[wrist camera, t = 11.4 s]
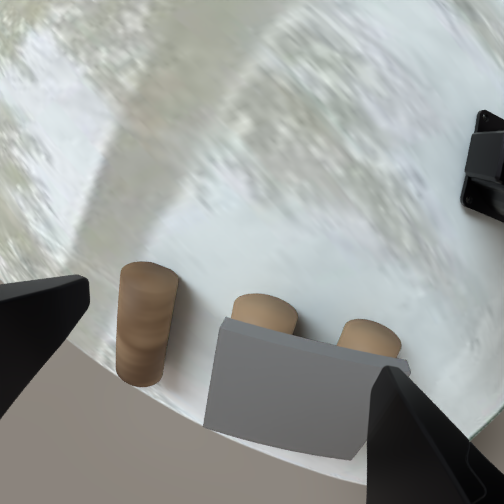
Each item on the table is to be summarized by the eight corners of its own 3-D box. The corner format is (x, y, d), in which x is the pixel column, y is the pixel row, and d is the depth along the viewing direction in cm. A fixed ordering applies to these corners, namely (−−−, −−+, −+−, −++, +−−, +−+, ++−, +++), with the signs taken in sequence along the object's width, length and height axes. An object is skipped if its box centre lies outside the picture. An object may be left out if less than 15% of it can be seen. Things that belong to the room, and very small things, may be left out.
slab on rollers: (395, 326, 20) (411, 372, 15) (349, 412, 23) (351, 460, 18) (242, 287, 21) (219, 327, 16) (222, 382, 24) (202, 427, 19)
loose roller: (186, 273, 22) (164, 299, 18) (169, 363, 25) (152, 394, 21) (137, 256, 22) (109, 277, 18) (128, 346, 25) (107, 374, 22)
